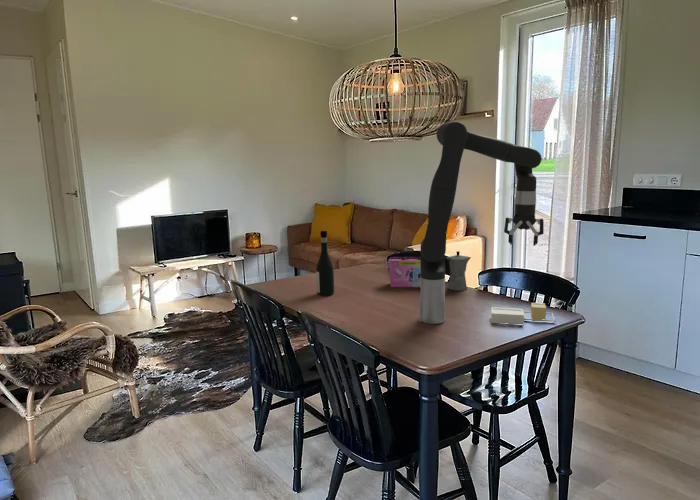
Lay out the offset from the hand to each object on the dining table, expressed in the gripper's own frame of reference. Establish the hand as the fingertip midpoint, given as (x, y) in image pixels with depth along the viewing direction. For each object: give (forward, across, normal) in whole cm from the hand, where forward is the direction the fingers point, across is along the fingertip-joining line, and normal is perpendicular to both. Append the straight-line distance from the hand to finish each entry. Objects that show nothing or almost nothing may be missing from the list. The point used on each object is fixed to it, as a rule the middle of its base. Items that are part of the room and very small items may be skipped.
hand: (522, 244), depth 197 cm
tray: (+28, +7, -3) cm, 29 cm away
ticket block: (+28, -4, -10) cm, 30 cm away
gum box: (+30, -48, +39) cm, 68 cm away
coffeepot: (+29, -28, +36) cm, 54 cm away
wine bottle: (+30, -85, +14) cm, 92 cm away
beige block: (+28, +7, -3) cm, 29 cm away
